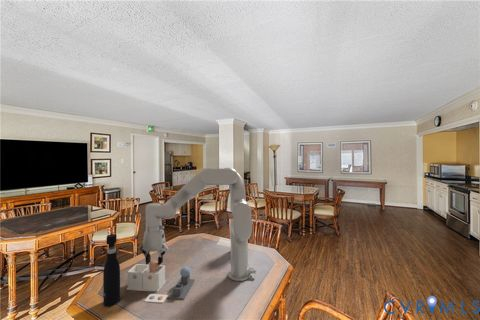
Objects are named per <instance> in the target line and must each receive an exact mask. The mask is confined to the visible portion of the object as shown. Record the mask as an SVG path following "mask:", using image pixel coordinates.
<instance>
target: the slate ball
mask: <svg viewBox="0 0 480 320" xmlns="http://www.w3.org/2000/svg"><path fill="white" fill-rule="evenodd" d="M179 273H180V276H181V277H188V276H189V274H191V269H190V267H189V266H183V267H181V269H180V271H179Z"/></svg>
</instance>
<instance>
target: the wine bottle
mask: <svg viewBox="0 0 480 320" xmlns="http://www.w3.org/2000/svg"><path fill="white" fill-rule="evenodd" d="M117 240H118V239H117V234H116V233H111V234H107V236H106V245H107V253H106V261H105V264H104V268H103V271H102V272H103V273H102V274H103V282H102V283H103V293H102V294H103V306H104V307H107V308H108V307H112V306H116V305H117V304H118V303H119V302H120V301H121V266H120V262H119V260H118V258H117V248H116V243H117Z"/></svg>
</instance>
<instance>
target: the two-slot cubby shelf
mask: <svg viewBox="0 0 480 320" xmlns="http://www.w3.org/2000/svg"><path fill="white" fill-rule="evenodd" d="M165 283H167V280H166V265H162V264H160V265H159V268H158V270H156V271H154V272H153V271H150V269H149V264H147V265H146V264H144V263H143V264H141V263H136V264H134V266H133V267H132V268H130V269H129V270H128V271H127V287H126V290H128V291H139V292H140V291H141V292H143V291H144V292H156V293H157V292H159V291H161V289H162V287H164V285H165Z"/></svg>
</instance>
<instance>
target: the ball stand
mask: <svg viewBox="0 0 480 320" xmlns="http://www.w3.org/2000/svg"><path fill="white" fill-rule="evenodd" d="M190 274H191V273H190ZM190 274H189V276H188V277H182V276H181V277H180V279H178V281H177V283H176V284H175V285H174V286H173V288H172V289H171V291H170V293H169V294H167V295H168V297H167V298H166V299H169V300H185V298H186V297H187V296H188V293H189V292H190V289H192V287H193V285H194V283H195V281H196V279H194V278H193V279H191V277H190V276H191V275H190Z"/></svg>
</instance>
